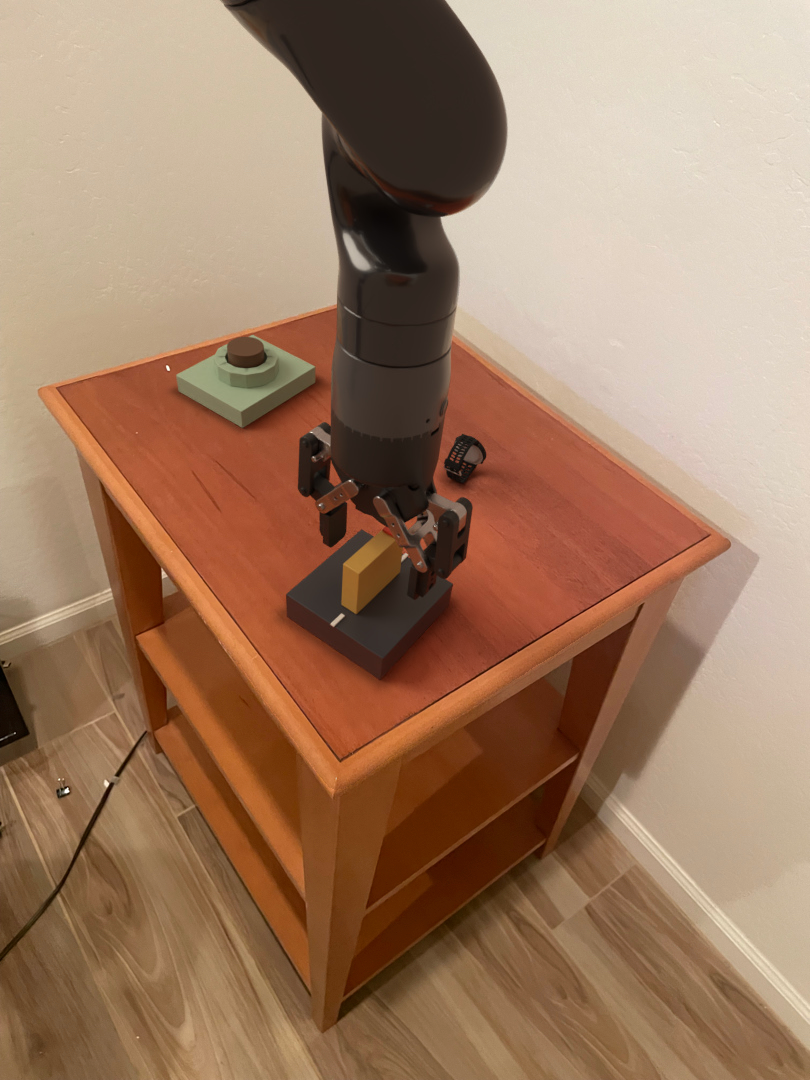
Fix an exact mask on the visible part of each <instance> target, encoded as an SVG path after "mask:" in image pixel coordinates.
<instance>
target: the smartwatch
mask: <svg viewBox="0 0 810 1080" xmlns="http://www.w3.org/2000/svg"><path fill="white" fill-rule="evenodd" d="M486 459H487V451H486V448H485V447H484V445H483V443H482V442H481V441H480V440H479V439H477V438H476V437H474V436H472V435H467V434H464V433H461V435H458V436H456V437H455V440H454V442H453V445H452V447H451V448H450V450H449V452H448V455H447V457H446V458H444V462H443V469H444V470H446V471H445V472H446V476H447V478H449V479H451V480H452V481H454V482H457V483H459V484H461V485H463V484H464V483H466V482H467V480H468V479H469V478H470V476H471V475H472V473H473V472H474V471H475V469H476V468H477V467H478V465H483V464H484V462H485V461H486Z"/></svg>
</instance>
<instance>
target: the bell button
mask: <svg viewBox="0 0 810 1080" xmlns="http://www.w3.org/2000/svg"><path fill="white" fill-rule="evenodd" d="M226 344H227V353H228V362H229V363H230V364H231V365H233V366H234V367H238V368H245V369H248V368H254V367H258V366H260V365H262V364H263V363H264V360H265V358H264V345H263V343H262V342H261V341H260V340H258V339H256V338H252V337H249V336H239V337H235V338H233V339H231V340H230V341H228V343H226Z"/></svg>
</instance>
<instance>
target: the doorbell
mask: <svg viewBox="0 0 810 1080" xmlns="http://www.w3.org/2000/svg"><path fill="white" fill-rule="evenodd" d="M248 337H252V338H256V339H258V340H260V341H261V342H262V343H263V345H264V358H265V360H264V363H263V364H262V365H260V366H258V367H254V368H248V369H245V368H238V367H234V366H233V365H231V364H230V363H229V362H228V353H227V344H228V343H226V344H223V345H222V346H220V347H218V348H217V350H216V352H215V354H213V355H211V356H209V357H207V358H206V359H203V360H201V361H199V362H197V363H196V364H194V365H192V366H190V367H188V368H186V369H184V370H183V371H180V372H179V373H176V374H175V378H176V384H177V391H178V392H179V393H181V394H182V395H184V396H186V397H188V398H190V399H191V400H193V401H195V402H196V403H198V404H200V405H201V406H203V407H205V408H207V409H209V410H210V411H212V412H214V413H215V414H217V415H218V416H221V417H222V418H224V419H226V420H227V421H229V422H231V423H233V424H234V425H237V426H238V427H240V428H241V429H244V428H245V427H247V426H248V425H250V424H252V423H253V422H255V421H256V420H258V419H259V418H261V417H263V416H264V415H266V414H267V413H269V412H271V411H272V410H274V409H275V408H277V407H279V406H280V405H282V404H283V403H285V402H286V401H288V400H290V399H292V398H293V397H294V396H296V395H298V394H299V393H301V392H302V391H304V390H305V389H307V388H309V387H311V386H312V385H314V384H315V383H316V366H315V365H313V364H311V363H309V362H307V361H306V360H303V359H302V358H299V357H298V356H296V355H294V354H292V353H289V352H288V351H286V350H284V349H282V348H280V347H278V346H276V345H274V344H272V343H270V342H268V341H266V340H265V339H262V338H260V337H259V336H256V335H254V334H251V335H249V336H248Z"/></svg>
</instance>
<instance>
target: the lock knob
mask: <svg viewBox="0 0 810 1080" xmlns="http://www.w3.org/2000/svg"><path fill="white" fill-rule="evenodd" d="M373 536H374V537H373V538H372V539H371V540H370V541H369V542H367V543H366V544H365V545H364V546H363V547H362V548H361V549H360V550H358V551H357V552H356V553H355V554H354V555H353V556H352V557H350V558H349V559H348V560H347V561H346V562H345V563H344V564H343V581H342V603H341V604H342V605H343V606H344V607H346V608H347V609H349V610H350V611H352V612H353V613H355V614H357V613H358V612H359V611H360V610H361V609H363V608H364V607H365V606H366V605H367V604H368V603H369V602H370V601H371V600H372V599H373V598H374V597H375V596H376V595H377V594H378V593H379V592H380V591H381V590H382V589H383V588H384V587H385V586H386V585H387V584H388V583H389V582H390V581H392V580H393V579H394V578H395V577H396V576H397V575H398V574H399V573H400V568H401V560H402V554H403V552H404V551H403V550H404V547H399V546H398V545H397V543H396V541H395V539H394V537H393V535H392V533H391V531H390V529H389V528H388V527H386V526H384V527H383V528H382V529H381V530H380V531H379V532H377V533H376V534H375V535H373Z"/></svg>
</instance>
